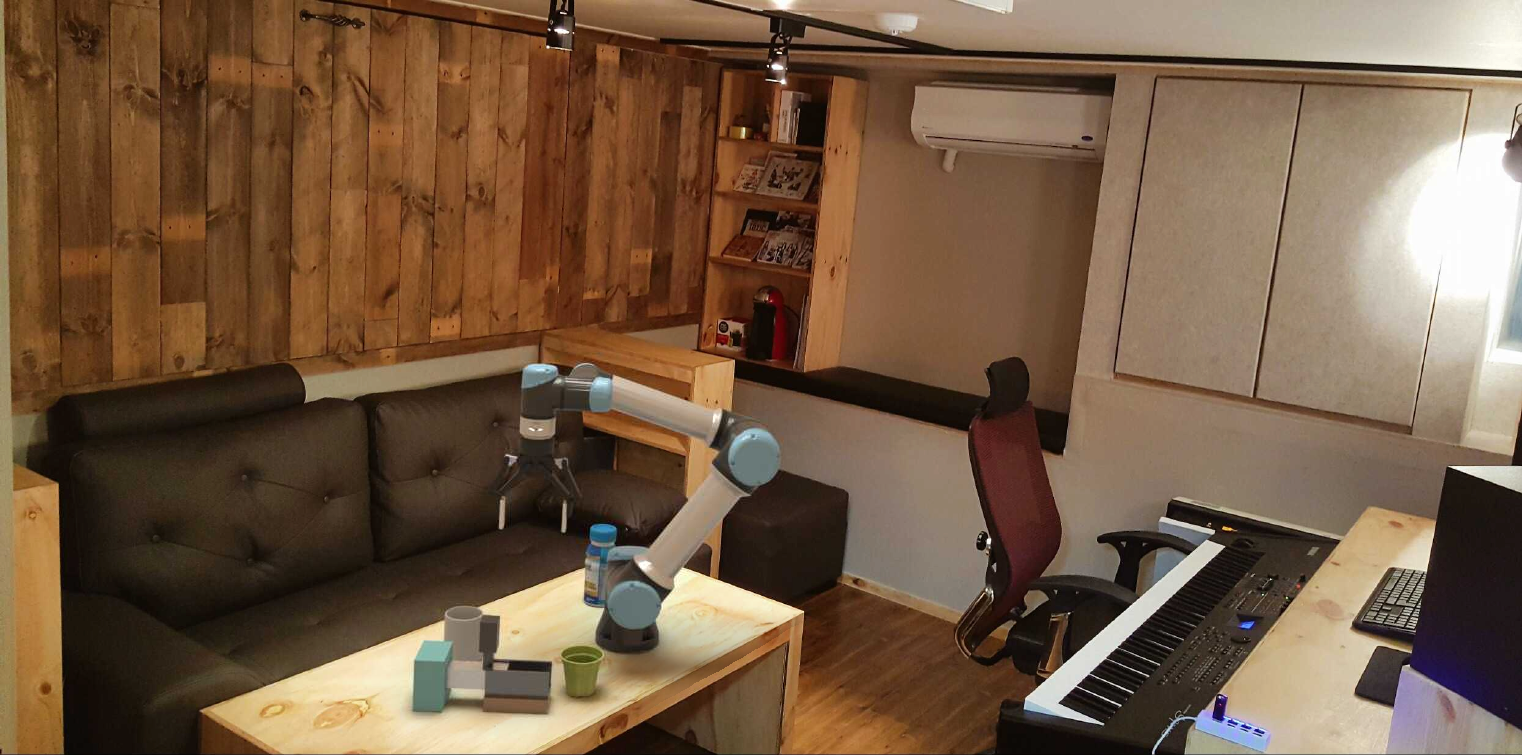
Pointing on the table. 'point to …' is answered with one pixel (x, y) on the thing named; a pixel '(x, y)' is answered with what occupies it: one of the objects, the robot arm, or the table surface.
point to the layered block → (518, 687)
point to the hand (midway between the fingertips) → (532, 528)
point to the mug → (464, 632)
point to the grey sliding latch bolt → (474, 671)
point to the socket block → (431, 675)
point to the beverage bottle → (598, 563)
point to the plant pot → (581, 669)
